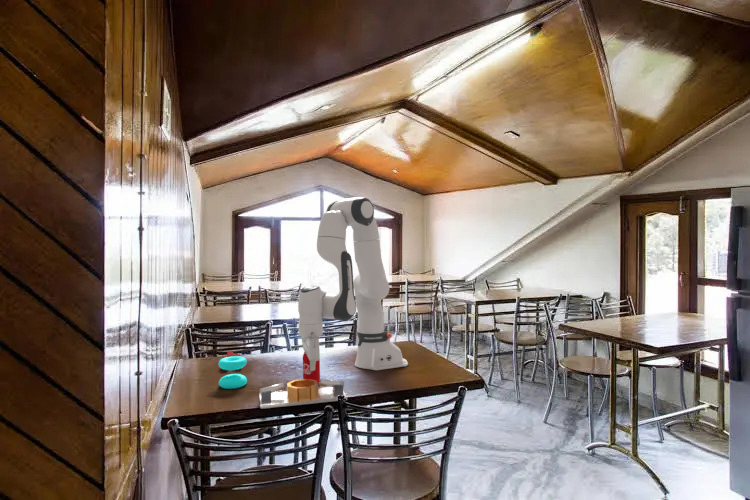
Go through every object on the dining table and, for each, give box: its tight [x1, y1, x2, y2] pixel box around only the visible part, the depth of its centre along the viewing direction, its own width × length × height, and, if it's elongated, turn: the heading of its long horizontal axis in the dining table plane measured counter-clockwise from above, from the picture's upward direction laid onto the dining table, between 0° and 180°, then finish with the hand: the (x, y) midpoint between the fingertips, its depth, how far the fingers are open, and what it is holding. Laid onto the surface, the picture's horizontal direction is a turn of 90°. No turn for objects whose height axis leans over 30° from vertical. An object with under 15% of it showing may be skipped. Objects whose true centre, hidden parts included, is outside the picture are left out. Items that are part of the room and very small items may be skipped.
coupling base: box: [258, 378, 348, 410], centre depth 159 cm, size 28×12×6 cm, turn 105°
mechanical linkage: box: [221, 351, 243, 371], centre depth 202 cm, size 16×7×5 cm, turn 22°
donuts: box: [217, 356, 248, 390], centre depth 174 cm, size 10×10×10 cm
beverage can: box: [302, 351, 321, 384], centre depth 174 cm, size 6×6×12 cm
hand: (311, 367), depth 174 cm, fingers closed on beverage can, 6 cm apart
